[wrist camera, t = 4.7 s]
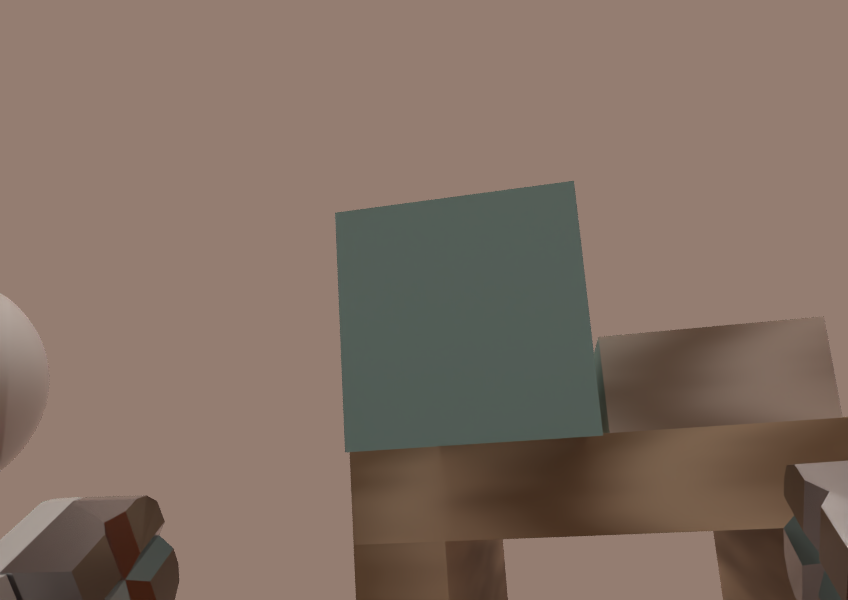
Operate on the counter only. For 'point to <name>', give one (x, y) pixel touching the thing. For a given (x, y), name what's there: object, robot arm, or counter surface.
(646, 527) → the shelf
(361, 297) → the stub bar
